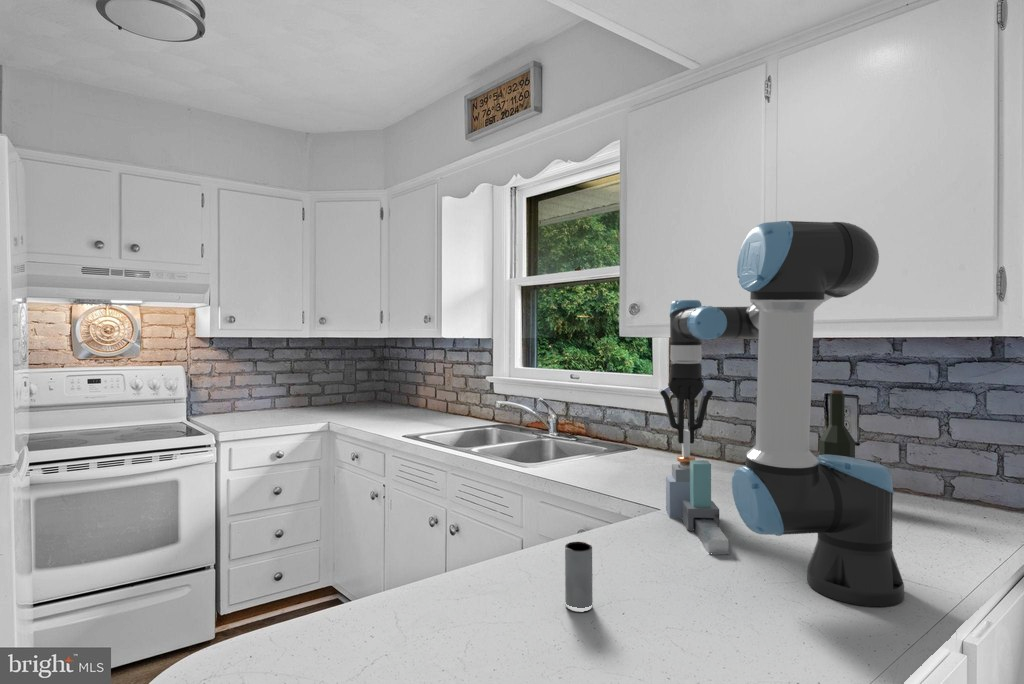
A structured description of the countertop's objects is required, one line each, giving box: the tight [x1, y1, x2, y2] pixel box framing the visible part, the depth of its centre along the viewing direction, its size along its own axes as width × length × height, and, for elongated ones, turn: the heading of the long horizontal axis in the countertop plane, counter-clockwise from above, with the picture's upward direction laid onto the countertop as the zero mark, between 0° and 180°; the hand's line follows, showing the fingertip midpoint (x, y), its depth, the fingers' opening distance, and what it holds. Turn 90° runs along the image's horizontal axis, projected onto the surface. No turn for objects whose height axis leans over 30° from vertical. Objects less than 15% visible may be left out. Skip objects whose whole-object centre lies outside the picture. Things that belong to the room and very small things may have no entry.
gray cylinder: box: [564, 541, 594, 608], centre depth 102 cm, size 4×4×10 cm
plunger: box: [676, 455, 696, 469], centre depth 153 cm, size 4×4×8 cm
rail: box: [693, 518, 730, 555], centre depth 137 cm, size 23×4×3 cm, turn 175°
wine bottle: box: [818, 389, 856, 458], centre depth 161 cm, size 8×8×30 cm
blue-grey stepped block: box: [665, 463, 690, 519], centre depth 153 cm, size 6×9×12 cm, turn 85°
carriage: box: [682, 459, 720, 531], centre depth 143 cm, size 7×7×15 cm
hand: (685, 456), depth 153 cm, fingers closed
